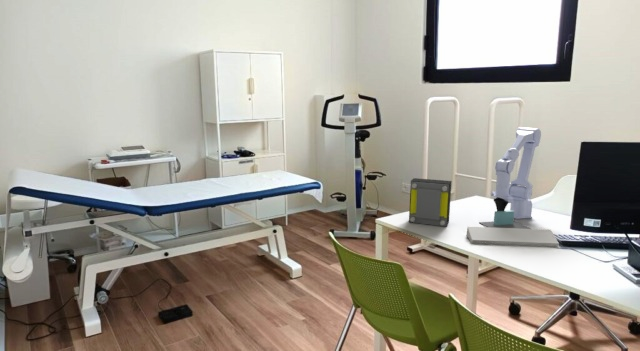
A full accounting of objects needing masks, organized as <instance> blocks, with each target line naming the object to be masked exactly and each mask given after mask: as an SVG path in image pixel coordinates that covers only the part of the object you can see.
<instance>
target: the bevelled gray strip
mask: <svg viewBox="0 0 640 351" xmlns="http://www.w3.org/2000/svg"><path fill="white" fill-rule="evenodd" d="M465 234H466V237H467V238H468V240H469V241H470V243H471V244H482V245H483V244H485V245H488V244H490V245H511V246H512V245H514V246H537V247H538V246H540V247H559V244H560V243H559V241H558V239H557V238H556V237H555V235H554V233H553V232H552V229H545V228H544V229H540V228H539V229H538V228H531V229H518V228H492V227H486V226H467V228H466V233H465Z"/></svg>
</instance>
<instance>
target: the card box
mask: <svg viewBox="0 0 640 351" xmlns="http://www.w3.org/2000/svg"><path fill="white" fill-rule="evenodd" d="M493 215H494V216H493V221H494V225H509V224H513V220H515V218H514V211H512V210H510V209H509V210H504V211H497V210H495V211H494V214H493Z"/></svg>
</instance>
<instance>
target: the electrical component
mask: <svg viewBox="0 0 640 351" xmlns="http://www.w3.org/2000/svg"><path fill="white" fill-rule="evenodd" d="M409 194H410V195H409V209H408V211H409V212H408V223H412V222H413V223H414V224H421V225H422V224H424V225H431V226H438V227H440V226H441V227H448V225H449V223H450V214H451V213H450V211H451V196H452V195H451V194H452V180H443V179H442V180H441V179H429V178H414V177H413V178H412V179H411V180H410V193H409Z"/></svg>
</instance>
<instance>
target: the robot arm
mask: <svg viewBox="0 0 640 351" xmlns="http://www.w3.org/2000/svg"><path fill="white" fill-rule="evenodd" d="M541 137H542V132H541V130H540V128H539V127H522V126H519V127H518V128H517V129H516V132H515V141H514V142H513V144H512V145H511V147H510V148H507V150H506V152H505V153H504V154H503V156H502V157H501V159H499V160H497V161H496V162H495V165H494V169H495V175H496V183H495V191H494V190H493V191H490V196H493V197H494V198H493V202H494V204H495V207H496V211H506V208H507V206H508V204H510V208H509V211H510V210H512V211H514V220H521V219H532V218H533V216H532V212H533V203H532V200H531V197H532V195H533V184H532V183H531V182H530V181H529V178H530V177H529V176H530V172H531V168H532V163H533V159H534V155H535V150H536V148H537V147H539V145H540V142H541ZM522 148H523V151H522V154H521V159H520V164H519V167H518V173H517V176H516V178H515V179H513V180H512V181H511V174H512V173H513V172H514V167H515V164H516V161H517V159H518V158H519V156H520V151H521V149H522Z"/></svg>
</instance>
